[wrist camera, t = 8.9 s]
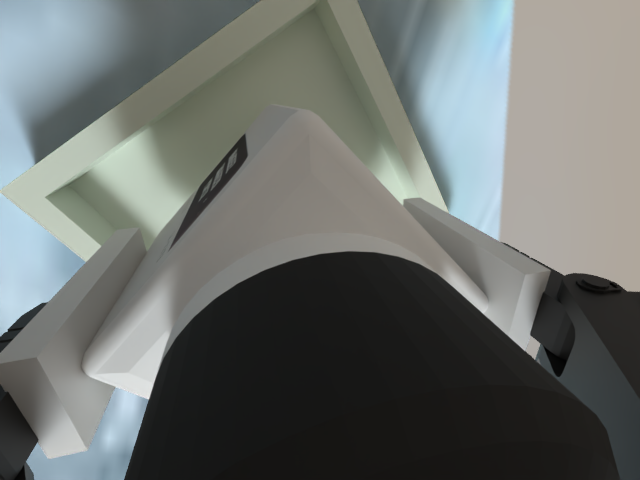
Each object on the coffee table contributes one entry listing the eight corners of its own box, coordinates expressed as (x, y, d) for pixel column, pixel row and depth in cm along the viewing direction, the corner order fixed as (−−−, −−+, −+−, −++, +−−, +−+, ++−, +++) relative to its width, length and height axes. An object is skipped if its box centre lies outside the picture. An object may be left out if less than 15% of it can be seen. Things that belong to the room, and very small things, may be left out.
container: (154, 237, 14) (-322, 993, 2) (271, 99, 13) (630, 109, 1) (285, 320, 17) (378, 788, 5) (388, 217, 16) (781, 535, 4)
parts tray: (37, 176, 14) (-2, 191, 12) (318, -28, 13) (333, -54, 11) (248, 362, 21) (249, 394, 18) (440, 234, 20) (465, 251, 18)
